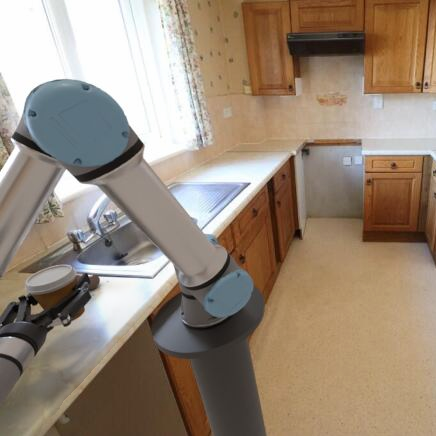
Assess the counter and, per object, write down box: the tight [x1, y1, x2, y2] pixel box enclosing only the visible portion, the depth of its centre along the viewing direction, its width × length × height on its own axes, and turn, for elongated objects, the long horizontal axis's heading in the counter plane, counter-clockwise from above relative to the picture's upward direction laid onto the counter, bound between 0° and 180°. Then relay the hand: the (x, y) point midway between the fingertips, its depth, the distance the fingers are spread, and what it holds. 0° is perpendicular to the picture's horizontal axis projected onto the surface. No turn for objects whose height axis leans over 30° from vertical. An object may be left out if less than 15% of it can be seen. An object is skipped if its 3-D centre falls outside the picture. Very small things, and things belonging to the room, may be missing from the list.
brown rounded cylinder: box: [76, 272, 101, 290], centre depth 100 cm, size 13×4×4 cm, turn 80°
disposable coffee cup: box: [24, 264, 86, 322], centre depth 76 cm, size 10×10×12 cm
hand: (67, 281), depth 80 cm, fingers closed on disposable coffee cup, 8 cm apart
